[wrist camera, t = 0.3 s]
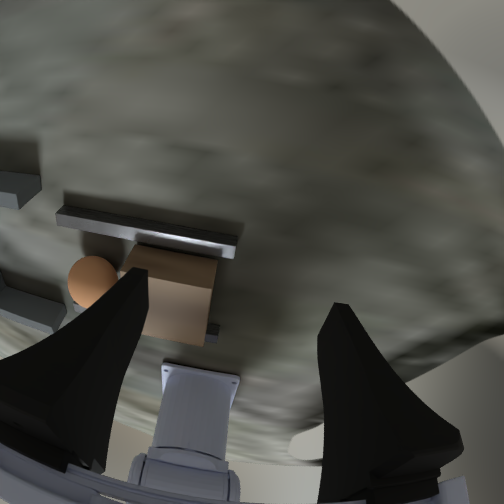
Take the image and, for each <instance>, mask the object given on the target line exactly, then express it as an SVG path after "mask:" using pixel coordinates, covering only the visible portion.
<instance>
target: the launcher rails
mask: <svg viewBox="0 0 504 504" xmlns="http://www.w3.org/2000/svg"><path fill="white" fill-rule="evenodd" d="M55 215H56V222H57V225H58V226H63V227H68V228H73V229H78V230H83V231H88V232H93V233H98V234H103V235H108V236H113V237H119V238H124V239H129V240H134V241H139V242H144V243H150V244H155V245H160V246H165V247H171V248H176V249H181V250H186V251H192V252H197V253H202V254H208V255H213V256H219V257H224V258H229V259H234V254H235V249H236V243H237V236H232V235H227V234H222V233H216V232H211V231H205V230H200V229H195V228H189V227H184V226H178V225H173V224H167V223H162V222H156V221H150V220H145V219H139V218H134V217H128V216H122V215H117V214H111V213H105V212H100V211H94V210H88V209H82V208H76V207H71V206H65V205H63V206H62V207H61V208H60V209H59V210H58V211H57V212H56V213H55ZM73 305H74V309H75V311H76V312H80V313H82V312H84V311H85V310H86V309H87V308H84V307H82V306H80V305H79V304H78V303H76V302H75V301H74V303H73ZM219 327H220V325H215V324H210V323H208V324H207V329H206V335H205V340H204V341H206V342H211V343H217V339H218V334H219Z"/></svg>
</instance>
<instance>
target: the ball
mask: <svg viewBox="0 0 504 504" xmlns="http://www.w3.org/2000/svg"><path fill="white" fill-rule="evenodd" d="M117 281H118V276H117V273H116V271H115V269H114V267H113V266H112V265H111V264H110V263H109V262H108V261H107V260H105V259H104V258H101V257H98V256H87V257H84V258H81V259H80V260H78V261H77V262H76V263H75V264H74V265H73V266H72V268H71V270H70V272H69V276H68V289H69V292H70V294H71V296H72V298H73V299H74V300H75V302H76V303H78V304H79V305H80V306H82V307H84V308H88V307H90V306H91V305H92V304H93V303H94V302H96V301H97V300H98V299H99V298H100V297H101V296H102V295H103V294H104V293H105V292H107V291H108V290H109V289H110V288H111V287H112V286H113V285H114V284H115V283H116V282H117Z"/></svg>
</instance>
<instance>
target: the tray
mask: <svg viewBox="0 0 504 504" xmlns="http://www.w3.org/2000/svg"><path fill="white" fill-rule="evenodd" d="M40 191H41V181H40V175H33V174H24V173H15V172H6V171H0V207H6V208H11V209H16V210H19V209H21V208H22V207H23V206H24V205H25V204H26V203H27V202H28V201H29V200H31V199H32V198H33V197H34V196H35V195H36V194H38V193H39V192H40ZM66 314H67V311H66V308H65V304H61V303H58V302H55V301H51V300H48V299H45V298H41V297H38V296H35V295H32V294H29V293H26V292H23V291H20V290H17V289H14V288H11V287H8V286H6V285H5V283H4V280H3V277H2V274H1V271H0V315H1V316H3V317H6V318H8V319H11V320H13V321H16V322H18V323H21V324H24V325H26V326H29V327H32V328H35V329H37V330H40V331H43V332H46V333H49V334H53V333H55V332H56V331H57V330H58V328H59V326H60V324H61V323H62V321H63V319H64V317H65V315H66Z"/></svg>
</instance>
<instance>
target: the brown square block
mask: <svg viewBox="0 0 504 504" xmlns="http://www.w3.org/2000/svg"><path fill="white" fill-rule="evenodd" d="M217 263H218V260H215V259H209V258H204V257H199V256H193V255H188V254H183V253H177V252H172V251H167V250H162V249H156V248H151V247H146V246H141V245H136V244H135V245H134V247H133V249H132V251H131V252H130V254H129V256H128V258H127V259H126V261H125V263H124V265H123V267H122V269H121V270H120V275H121V277H122V276H123V275H124V274H125V273H126V272H128V271H129V270H130V269H131V268H132V267H137V268H141V269H146V270H148V289H149V310H148V314H147V317H146V321H145V324H144V328H143V331H142V333H141V334H143V335H148V336H152V337H157V338H161V339H166V340H171V341H175V342H180V343H185V344H191V345H196V346H201V347H203V346H204V340H205V335H206V329H207V324H208V319H209V313H210V306H211V300H212V293H213V287H214V281H215V275H216V269H217Z"/></svg>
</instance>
